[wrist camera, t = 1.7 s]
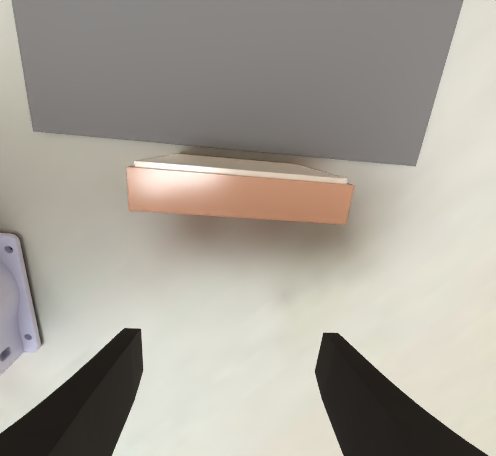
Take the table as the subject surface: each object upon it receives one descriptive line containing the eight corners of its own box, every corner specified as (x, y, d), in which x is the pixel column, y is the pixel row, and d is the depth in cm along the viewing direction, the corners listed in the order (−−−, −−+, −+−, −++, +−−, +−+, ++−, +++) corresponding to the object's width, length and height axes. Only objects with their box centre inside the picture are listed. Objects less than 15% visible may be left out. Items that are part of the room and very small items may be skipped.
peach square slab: (294, 189, 17) (346, 224, 10) (175, 180, 16) (129, 210, 9) (297, 164, 17) (355, 180, 9) (174, 153, 16) (125, 160, 8)
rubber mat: (412, 165, 17) (415, 166, 17) (36, 131, 15) (33, 131, 15) (477, -62, 13) (482, -67, 13) (-10, -156, 11) (-16, -164, 11)
